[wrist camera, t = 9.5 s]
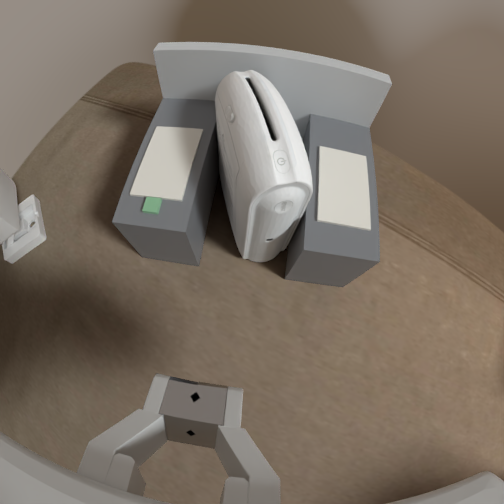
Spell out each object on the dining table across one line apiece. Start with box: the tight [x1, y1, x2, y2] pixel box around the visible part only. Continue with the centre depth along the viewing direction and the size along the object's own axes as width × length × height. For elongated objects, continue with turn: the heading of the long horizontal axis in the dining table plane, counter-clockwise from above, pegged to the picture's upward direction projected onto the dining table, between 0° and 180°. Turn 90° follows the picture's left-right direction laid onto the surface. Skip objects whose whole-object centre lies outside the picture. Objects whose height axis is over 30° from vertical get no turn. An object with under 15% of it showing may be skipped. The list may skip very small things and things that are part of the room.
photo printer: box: [215, 70, 313, 262], centre depth 20 cm, size 10×4×12 cm, turn 14°
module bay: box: [112, 42, 392, 287], centre depth 20 cm, size 17×13×12 cm
